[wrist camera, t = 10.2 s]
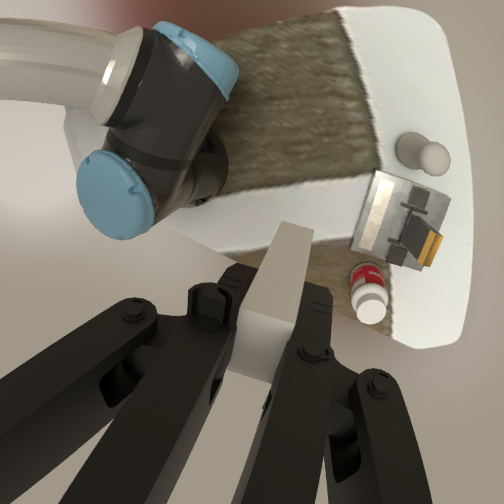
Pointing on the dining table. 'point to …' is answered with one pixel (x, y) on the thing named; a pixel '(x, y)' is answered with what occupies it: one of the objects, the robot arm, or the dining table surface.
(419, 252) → the paddle
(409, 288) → the dining table surface
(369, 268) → the pill bottle
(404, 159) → the salt shaker
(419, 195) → the panel
